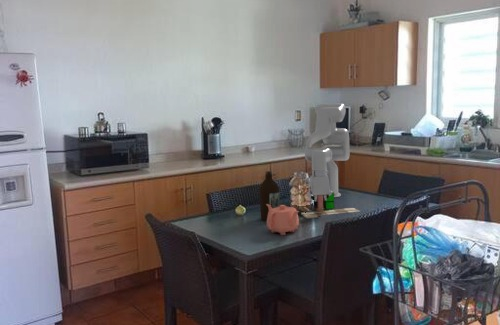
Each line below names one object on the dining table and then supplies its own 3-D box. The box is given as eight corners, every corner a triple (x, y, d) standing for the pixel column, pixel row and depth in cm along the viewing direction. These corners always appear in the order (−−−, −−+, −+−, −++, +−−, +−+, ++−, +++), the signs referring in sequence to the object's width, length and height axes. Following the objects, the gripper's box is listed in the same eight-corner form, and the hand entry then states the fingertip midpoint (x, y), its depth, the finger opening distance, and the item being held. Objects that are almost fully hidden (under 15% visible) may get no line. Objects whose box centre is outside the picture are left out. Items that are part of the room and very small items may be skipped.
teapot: (299, 236, 206) (299, 209, 205) (263, 236, 209) (262, 209, 207) (300, 227, 221) (300, 201, 219) (266, 227, 223) (266, 201, 222)
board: (301, 214, 244) (301, 212, 244) (353, 209, 250) (353, 207, 250) (306, 218, 236) (306, 216, 236) (360, 213, 243) (360, 211, 242)
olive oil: (255, 219, 238) (253, 171, 234) (270, 215, 245) (268, 169, 241) (269, 223, 230) (268, 174, 226) (284, 218, 237) (283, 171, 233)
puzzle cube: (329, 206, 260) (329, 188, 259) (334, 210, 251) (334, 192, 249) (312, 207, 260) (311, 189, 258) (316, 211, 250) (316, 193, 248)
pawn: (315, 209, 243) (314, 192, 242) (322, 209, 244) (322, 192, 243) (317, 211, 239) (316, 194, 238) (324, 210, 240) (324, 193, 239)
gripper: (331, 171, 244) (331, 204, 247) (301, 173, 241) (302, 207, 243) (337, 173, 237) (337, 208, 240) (306, 175, 233) (307, 210, 236)
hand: (319, 207), depth 241 cm, fingers closed on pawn, 3 cm apart
